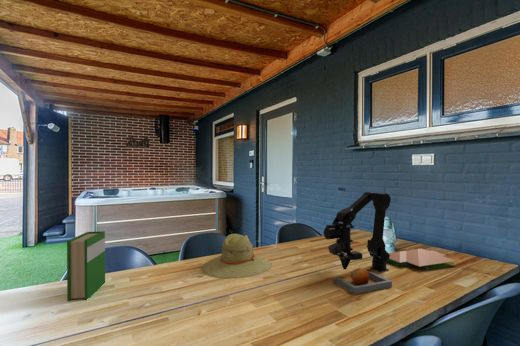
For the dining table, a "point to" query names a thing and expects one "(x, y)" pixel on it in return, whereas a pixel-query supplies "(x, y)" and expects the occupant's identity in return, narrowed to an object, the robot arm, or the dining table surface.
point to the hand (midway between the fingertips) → (344, 269)
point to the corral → (378, 285)
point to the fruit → (360, 276)
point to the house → (419, 258)
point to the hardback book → (85, 264)
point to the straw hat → (236, 260)
